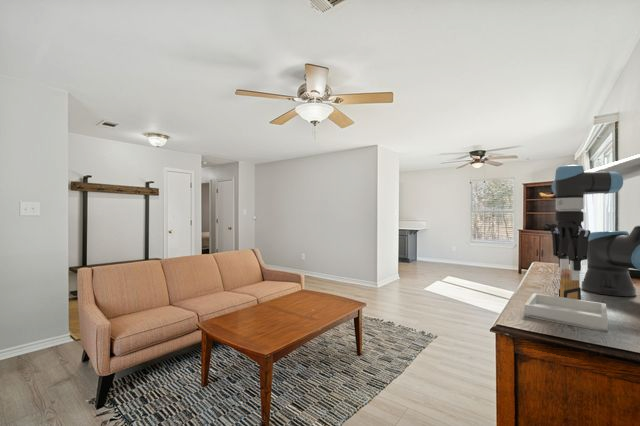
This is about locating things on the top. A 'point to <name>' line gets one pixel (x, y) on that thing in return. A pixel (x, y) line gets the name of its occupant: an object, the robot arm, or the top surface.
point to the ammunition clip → (569, 286)
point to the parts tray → (567, 311)
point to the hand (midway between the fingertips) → (569, 278)
